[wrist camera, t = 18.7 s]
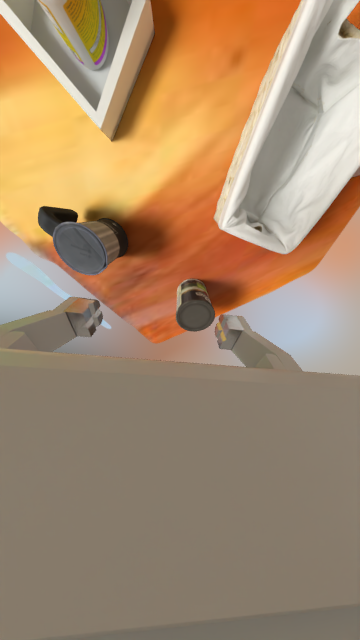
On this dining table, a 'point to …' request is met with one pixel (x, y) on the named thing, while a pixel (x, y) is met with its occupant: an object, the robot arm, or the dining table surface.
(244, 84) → the dining table surface
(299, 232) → the storage basket
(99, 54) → the supplement bottle
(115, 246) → the milk frother
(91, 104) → the box
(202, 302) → the coffee can
